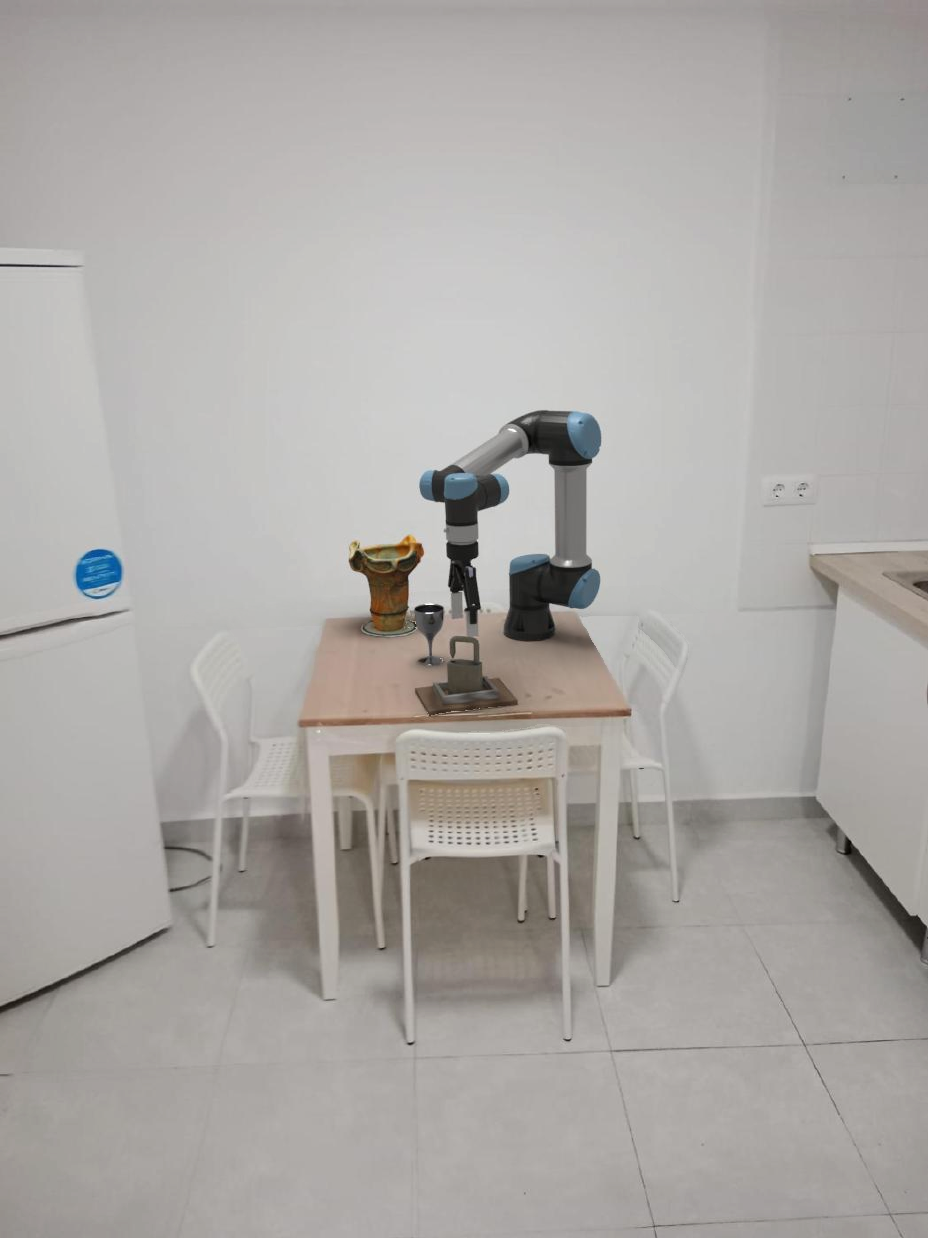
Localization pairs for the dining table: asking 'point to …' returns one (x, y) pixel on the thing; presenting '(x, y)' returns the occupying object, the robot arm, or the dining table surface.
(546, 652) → the dining table surface
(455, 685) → the padlock
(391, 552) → the decorative vase
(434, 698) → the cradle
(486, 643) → the dining table surface
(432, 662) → the wine glass
